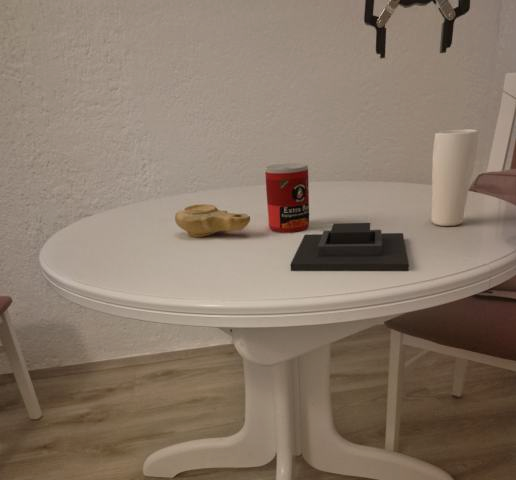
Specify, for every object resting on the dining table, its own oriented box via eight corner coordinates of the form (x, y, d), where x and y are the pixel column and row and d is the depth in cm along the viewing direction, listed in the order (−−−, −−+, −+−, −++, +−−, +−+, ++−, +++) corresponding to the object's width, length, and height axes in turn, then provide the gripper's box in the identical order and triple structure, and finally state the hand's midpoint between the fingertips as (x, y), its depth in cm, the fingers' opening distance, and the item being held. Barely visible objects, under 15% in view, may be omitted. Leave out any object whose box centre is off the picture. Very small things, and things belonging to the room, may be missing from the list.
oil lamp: (251, 238, 85) (249, 210, 83) (171, 244, 86) (167, 216, 83) (251, 225, 95) (249, 199, 92) (179, 230, 95) (175, 204, 93)
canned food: (283, 235, 86) (280, 170, 81) (260, 227, 92) (256, 167, 87) (318, 227, 89) (317, 164, 84) (294, 220, 95) (292, 162, 90)
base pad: (402, 239, 78) (403, 223, 77) (408, 270, 65) (409, 252, 63) (304, 240, 82) (304, 225, 81) (290, 270, 68) (290, 253, 67)
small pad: (369, 242, 75) (370, 222, 73) (369, 252, 70) (370, 231, 68) (333, 242, 76) (333, 223, 74) (330, 252, 71) (330, 232, 70)
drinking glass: (441, 217, 90) (450, 129, 83) (475, 222, 85) (487, 129, 78) (418, 224, 86) (425, 133, 79) (451, 230, 81) (462, 133, 74)
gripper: (366, -87, 62) (362, 58, 69) (485, -106, 59) (468, 49, 66) (366, -70, 68) (363, 61, 76) (474, -87, 65) (459, 52, 73)
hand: (412, 55), depth 71 cm, fingers open, 8 cm apart
